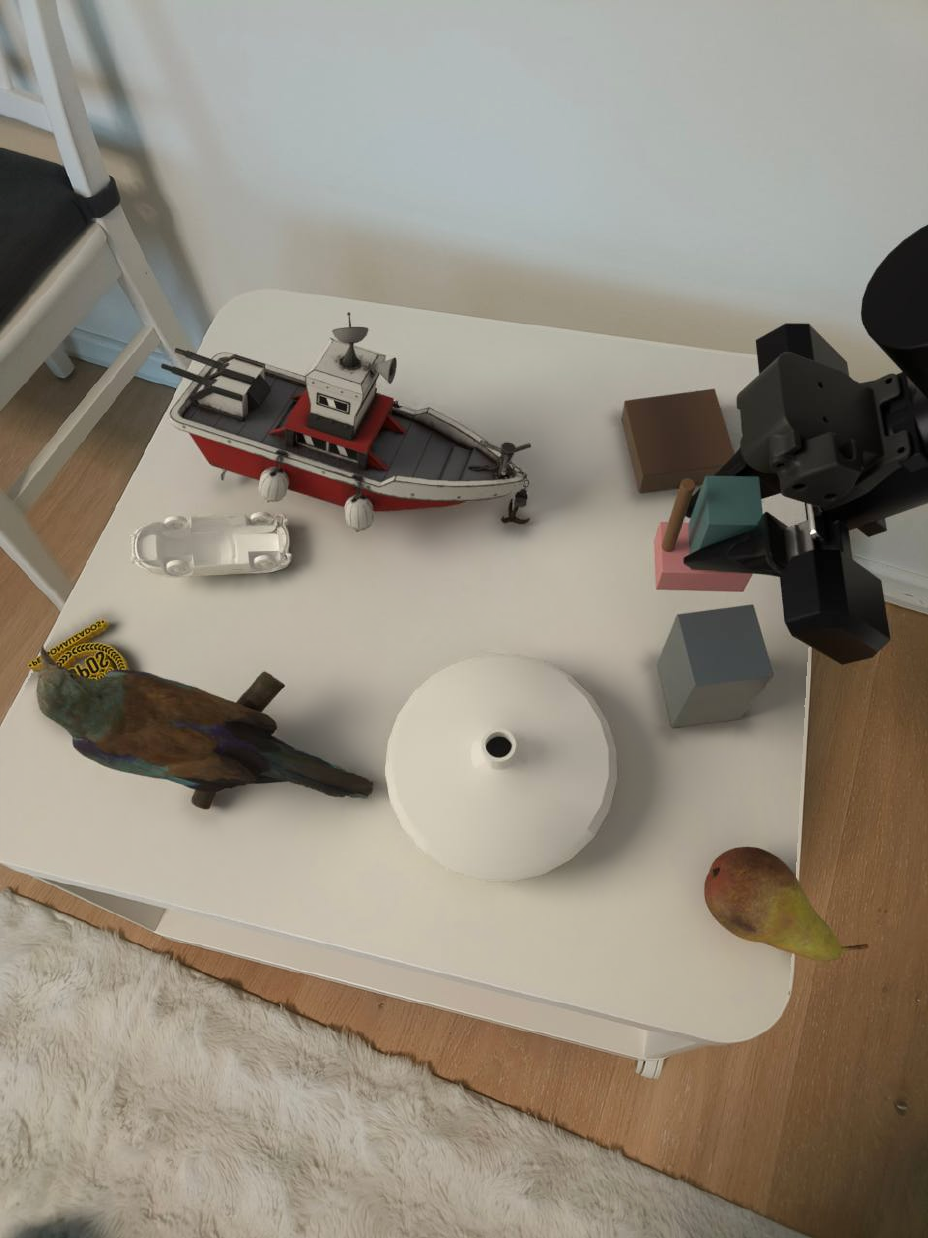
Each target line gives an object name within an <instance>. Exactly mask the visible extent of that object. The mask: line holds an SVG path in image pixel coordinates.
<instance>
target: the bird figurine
mask: <svg viewBox="0 0 928 1238" xmlns="http://www.w3.org/2000/svg"><path fill="white" fill-rule="evenodd" d="M39 651H40V652H39V654H40V655H41V660H42V666H43V667H42V669H41V670H39V671H38V674H37V683H36V699H37V703H38V707H39V710H40V712H41V713H42V714H43V715H44V716H45V717H47V718H48V719H50V721H51V720H52V721H53V722H55V724H58V725H59V726H60V727H61V728H63V729H64V730H65V731H67V733H68V734H69V735H70V736H71V737H72V739H71V740H72V741H71V742H72V746H73V748H74V749H75V750H76V751H77V752H78V753H79V754H81V755H82V756H84V757H85V758H86V759H89V760H91V761H92V762H95V763H97V764H99V765H101V766H104V767H106V768H109V769H111V770H114V771H118V772H121V773H125V774H126V773H127V774H132V775H136V776H141V777H147V778H153V779H159V780H167V781H170V782H173V783H176V784H179V785H182V786H184V787H186V788H189V789H192V790H194V792H193V794H192V796H191V799H190V801H191V804H192V805H193V806H195V807H196V808H198V809H201V810H204V811H205V810H209V809H211V807H212V804H213V803H214V799H215V798H216V796H217V793H219V792H220V793H221V792H223V791H224V790H228V789H230V790H231V789H234V788H237V787H239V786H246V785H260V784H276V783H291V784H294V785H298V786H302V787H304V788H307V789H310V790H314V791H317V792H319V793H322V794H324V795H326V796H329V797H334V798H345V797H348V798H353V799H356V798H357V799H358V798H359V799H364V800H368V799H369V798H370V795H371V794H372V793H373V790H374V789H373V788H374V781H370V780H369V779H368V778H366V777H363V776H362V775H359V774H358V775H357V774H356V773H355V772H351V771H347V769H345V768H343V767H341V766H339V765H337V764H334V763H333V762H330V761H328V760H325V758H322V757H320V756H317V755H314V754H310V753H308V752H305V751H303V750H300V749H296V748H295V747H293V746H291V745H290V744H289V743H287V742H285V741H283V740H281V739H279V738H277V737H276V736H274V735H273V734H274V733H275V732H276V731H277V730H278V725H277V722H276V721H275V720H274V719H273V718H272V717H271V716H270V715H268V714H266V713H264V712H263V711H264V710H265V709H266V708H267V707H268V706H269V705H270V704H271V703H272V701H273V700H274V699H275V698H276V697H277V695H278V694H279V693H280V692H281V691H282V690H283V689H284V688H285V687H286V685H285V684H284V683H283V682H282V681H280V680H279V679H278V678H276V677H274V675H272V674H270V672H268V671H262V672H261V673H260V674H259V675H258V676H257V677H256V679H255V680H254V682H253V683H252V684H251V685H250V686H249V687H248V688H247V689H246V690H245V692H243V694H241V696H240V697H239V698H238V699H237V700H236V702H235V701H233V700H229V699H226V698H224V697H221V696H218V695H216V694H213V693H211V692H209V691H206V690H204V689H201V688H198V687H197V686H196V687H195V686H193V685H189V684H186V683H183V682H180V681H177V680H173V679H168V678H165V677H161V676H159V675H156V674H154V673H150V672H147V671H144V670H143V671H142V670H135V669H129V670H123V669H118V668H117V669H114V670H112V671H110V672H108V673H107V674H106V675H105V676H104V677H103V678H102V679H97V680H95V679H89V678H86V677H82V676H80V675H78V674H77V673H75V672H74V671H73V670H68V669H65V668H64V667H62V666H59V665H58V664H57V663H56V661H55V662H54V661H53V660H52V659H51V657H50V656H49V655H48V654H47V652H46V651H47V650H46V649H45V646H44V645H42V646H41V647H40V650H39Z"/></svg>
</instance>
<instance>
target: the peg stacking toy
mask: <svg viewBox="0 0 928 1238" xmlns="http://www.w3.org/2000/svg"><path fill="white" fill-rule="evenodd" d="M695 488H696V486H695V482H694V481H693V480H691V479H684V480H683V481H682V482H681V484H680V487H679V488H678V490H677V494H676V497H675V500H674V503H673V507H672V510H671V513H670V516H669V519H668V521H660V522H659V523H658V527H657V530H656V534H655V537H654V540H653V548H654V549H653V550H654V551H653V552H654V579H655V580H654V581H655V590H657V591H689V592H690V591H691V592H693V591H694V592H727V593H728V592H731V593H732V592H734V593H742V592H745V589H746V587H747V586H748V584H749V582H750V580H751V579H752V576H753V575H754V574H753V573H738V572H724V571H710V570H697V569H691V568H690V567H688V566H686V565H684V563H683V558H684V557H685V556H687V555H689V554H691V553H693V552H695V551H697V550H699V549H701V548H704V547H706V546H709V545H712V544H714V543H717V542H720V541H723V540H726V539H728V538H731V537H734V536H737V535H739V534H742V533H745V532H748V531H750V530H753V529H754V528H755V527H756V525H757V524H758V522H759V520H760V519H761V517H762V515H763V514H764V513H763V511H764V510H763V502H762V499H761V491H760V481H759V477H750V476H705V479H704V482H703V484H702V485H701V487H700V488H701V490H700V493H699V496H698V499H697V501H696V504H695V507H694V510H693V513H692V515H691V518H689V522H684V521H685V518H686V516H685V515H686V512H687V509H688V506H689V504H690V501H691V498H692V496H693V495H694V492H695Z"/></svg>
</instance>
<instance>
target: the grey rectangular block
mask: <svg viewBox="0 0 928 1238" xmlns="http://www.w3.org/2000/svg"><path fill="white" fill-rule="evenodd" d="M656 669H657V672H658V673H657V674H658V677H659V682H660V685H661V690H662V694H663V698H664V703H665V707H666V711H667V716H668V719H669V725H670V728H671V729H674V728H675V729H677V728H683V727H691V726H698V725H706V724H713V723H714V724H715V723H721V722H722V723H723V722H729V721H736V720H740V719H741V718H742V717H743V716H744V715H745V713H746V712H747V711H748V710H749V708H750V707H751V706H752V704H753V703H754V702H755V701H756V700H757V698H758V697H759V695H760V694H762V691H763V690H764V689H765V688H766V686H767V685H768V684H769V683H770V681H771V680H772V679H773V678H774V677H775V674H774V670H773V667H772V664H771V661H770V657H769V653H768V650H767V646H766V643H765V639H764V636H763V633H762V629H761V626H760V622H759V618H758V616H757V612H756V608H755V605H754V604H753V603H752V604H745V605H737V606H736V605H735V606H730V607H722V608H715V609H707V610H700V611H699V610H698V611H692V612H685V613H677V614H676V616H675V618H674V620H673V623H672V626H671V628H670V630H669V633H668V635H667V638H666V641H665V642H664V645H663V648H662V650H661V652H660V655H659V658H658V660H657V662H656Z"/></svg>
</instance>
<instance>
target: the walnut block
mask: <svg viewBox="0 0 928 1238" xmlns="http://www.w3.org/2000/svg"><path fill="white" fill-rule="evenodd" d="M621 423H622V426H623V432H624V437H625V441H626V444H627V449H628V453H629V456H630V460H631V465H632V469H633V473H634V478H635V482H636V485H637V490H638V493H639V494H641V493H643V494H644V493H651V492H657V491H665V490H666V491H667V490H673V489H679V487H680V484H681V482H682V481H683V480H684V479H691V480H693V481H694V482H695V487H696V486H702V484H703V482H704V479H705V476H713V475H714V474H715V473H716V472H718V471H719V470H720V469H721V468H722V467H723V466H724V465H725V464H726V463H727V462H728V461H729V460H730V458H731V457H732V456H733V455H734V454H735V451H734V448H733V444H732V441H731V438H730V434H729V431H728V428H727V424H726V422H725V418H724V414H723V411H722V407H721V404H720V402H719V398H718V394H717V392H716V388H709V389H701V390H695V391H686V392H679V393H672V394H671V393H670V394H664V395H656V396H648V397H642V398H635V399H634V398H633V399H628V400H627V399H626V400H624V402H623V409H622V414H621Z"/></svg>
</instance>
